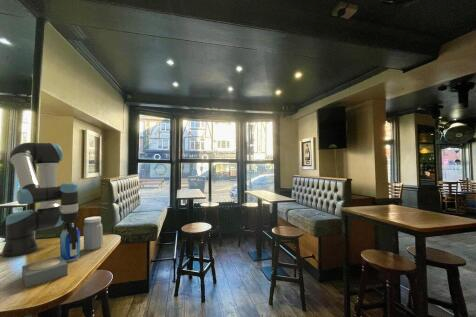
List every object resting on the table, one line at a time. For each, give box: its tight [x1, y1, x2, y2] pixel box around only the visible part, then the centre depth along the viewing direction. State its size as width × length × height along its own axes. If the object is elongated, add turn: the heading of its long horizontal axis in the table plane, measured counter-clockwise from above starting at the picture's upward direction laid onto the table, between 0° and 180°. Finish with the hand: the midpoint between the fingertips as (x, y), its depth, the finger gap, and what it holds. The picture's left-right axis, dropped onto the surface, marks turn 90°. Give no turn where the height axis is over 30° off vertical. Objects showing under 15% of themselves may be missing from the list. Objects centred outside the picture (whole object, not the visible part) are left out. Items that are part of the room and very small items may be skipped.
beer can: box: [59, 227, 81, 263], centre depth 121 cm, size 8×8×16 cm
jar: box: [82, 215, 104, 252], centre depth 136 cm, size 10×10×18 cm
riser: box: [21, 255, 68, 289], centre depth 103 cm, size 14×14×5 cm
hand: (70, 252), depth 121 cm, fingers open, 13 cm apart
